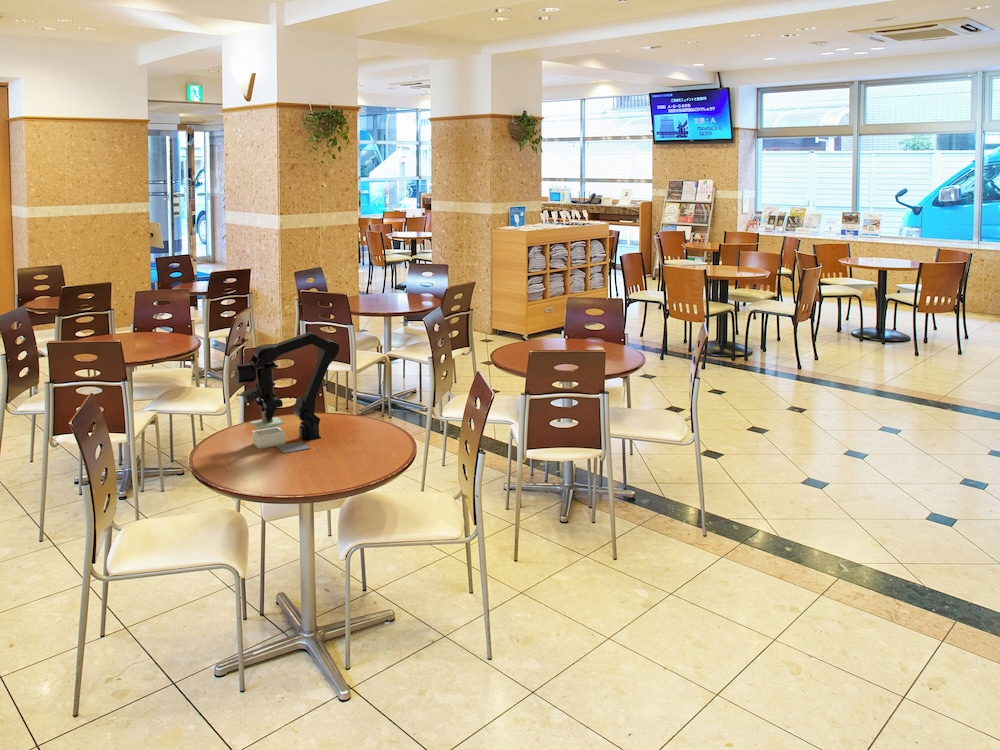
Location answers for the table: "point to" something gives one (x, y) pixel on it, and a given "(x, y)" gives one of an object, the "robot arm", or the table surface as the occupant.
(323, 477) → the table surface
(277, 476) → the table surface
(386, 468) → the table surface
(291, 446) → the mat
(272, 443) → the caddy
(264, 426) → the lid
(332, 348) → the robot arm
